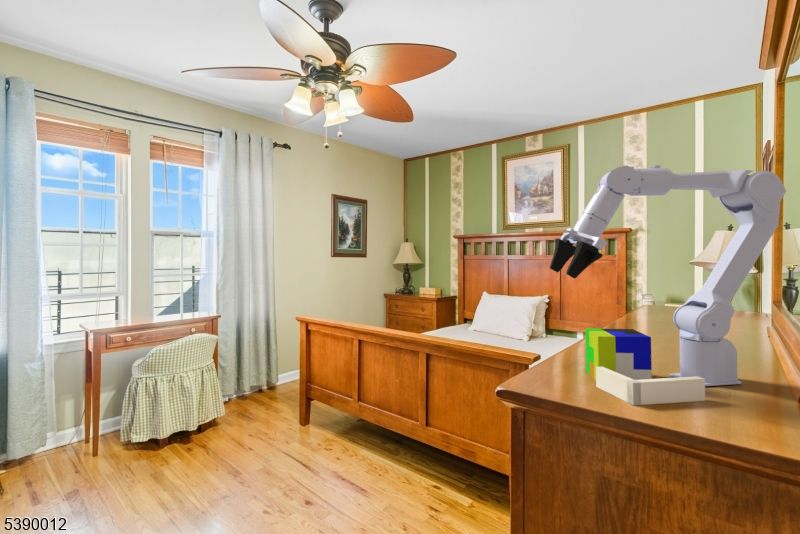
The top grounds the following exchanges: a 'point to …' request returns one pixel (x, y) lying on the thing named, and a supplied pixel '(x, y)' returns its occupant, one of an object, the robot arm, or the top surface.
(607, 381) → the corner walls
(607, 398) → the top surface
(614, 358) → the puzzle toy
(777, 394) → the top surface
